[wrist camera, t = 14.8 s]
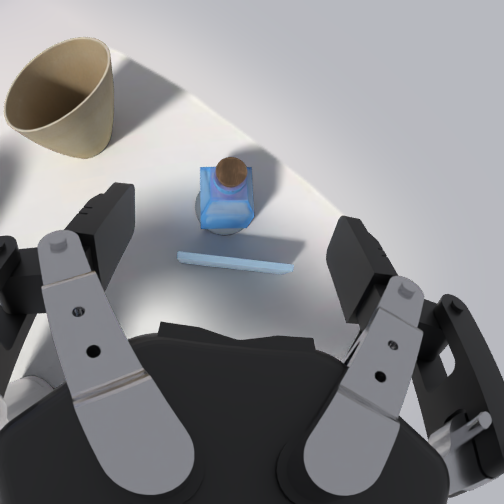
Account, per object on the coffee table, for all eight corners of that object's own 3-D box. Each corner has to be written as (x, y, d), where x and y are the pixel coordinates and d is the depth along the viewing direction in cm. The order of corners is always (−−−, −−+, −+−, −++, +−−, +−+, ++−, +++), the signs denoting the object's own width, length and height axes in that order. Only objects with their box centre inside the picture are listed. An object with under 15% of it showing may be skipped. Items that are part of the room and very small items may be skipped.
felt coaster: (249, 238, 41) (250, 237, 41) (191, 231, 40) (191, 230, 40) (255, 184, 43) (255, 183, 42) (199, 177, 42) (199, 175, 41)
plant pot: (83, 93, 41) (55, 32, 25) (150, 116, 42) (135, 46, 26) (35, 164, 38) (-15, 116, 22) (99, 196, 39) (54, 146, 23)
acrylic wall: (282, 274, 41) (293, 271, 36) (180, 262, 39) (176, 257, 34) (283, 268, 42) (293, 264, 37) (180, 256, 40) (177, 251, 35)
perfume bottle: (200, 185, 41) (200, 144, 29) (244, 185, 42) (260, 144, 30) (200, 229, 40) (200, 200, 28) (246, 228, 41) (264, 200, 29)
